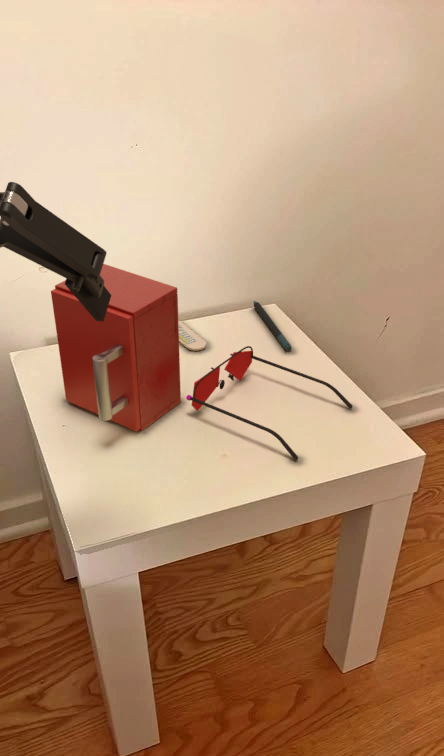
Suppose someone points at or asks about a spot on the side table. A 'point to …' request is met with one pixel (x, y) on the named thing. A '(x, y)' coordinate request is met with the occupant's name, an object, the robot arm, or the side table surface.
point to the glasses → (237, 369)
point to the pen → (272, 326)
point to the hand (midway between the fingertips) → (40, 301)
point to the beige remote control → (190, 338)
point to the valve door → (98, 360)
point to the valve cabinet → (148, 337)
